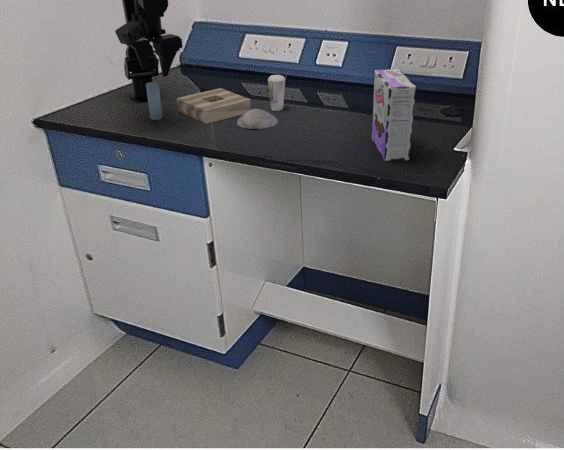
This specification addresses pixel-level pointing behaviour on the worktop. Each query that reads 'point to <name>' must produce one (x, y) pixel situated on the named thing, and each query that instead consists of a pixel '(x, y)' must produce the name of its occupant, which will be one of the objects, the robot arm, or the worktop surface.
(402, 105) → the candy box
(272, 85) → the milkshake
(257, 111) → the seashell
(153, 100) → the dowel
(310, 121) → the worktop surface
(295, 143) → the worktop surface
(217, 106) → the socket block
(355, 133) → the worktop surface
